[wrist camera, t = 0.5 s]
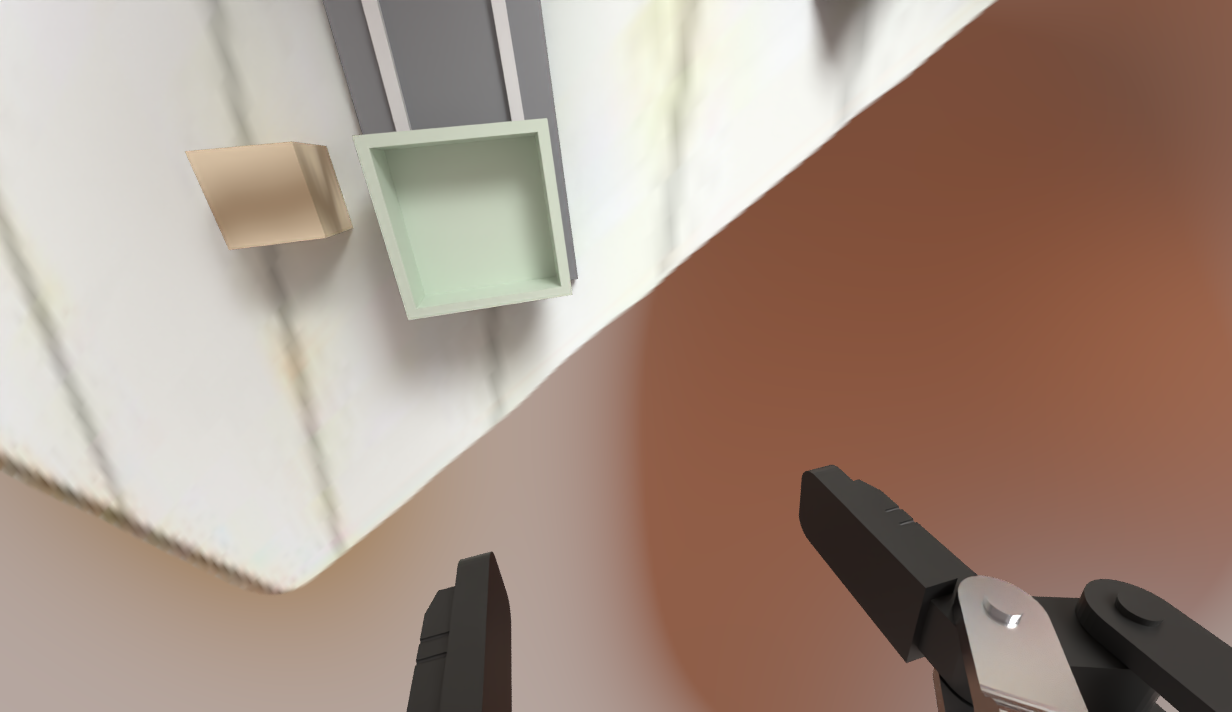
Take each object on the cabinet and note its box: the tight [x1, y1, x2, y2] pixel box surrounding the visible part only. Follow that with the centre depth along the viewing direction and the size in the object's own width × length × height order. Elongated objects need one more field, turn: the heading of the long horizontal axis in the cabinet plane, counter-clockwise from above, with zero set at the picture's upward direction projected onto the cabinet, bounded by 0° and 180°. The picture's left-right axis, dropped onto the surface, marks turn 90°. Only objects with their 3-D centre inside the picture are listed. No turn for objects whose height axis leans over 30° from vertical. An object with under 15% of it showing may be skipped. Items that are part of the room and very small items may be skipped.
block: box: [185, 142, 353, 250], centre depth 26 cm, size 5×5×5 cm
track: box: [323, 0, 578, 280], centre depth 28 cm, size 22×12×1 cm, turn 6°
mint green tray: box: [352, 118, 572, 320], centre depth 27 cm, size 10×10×6 cm
